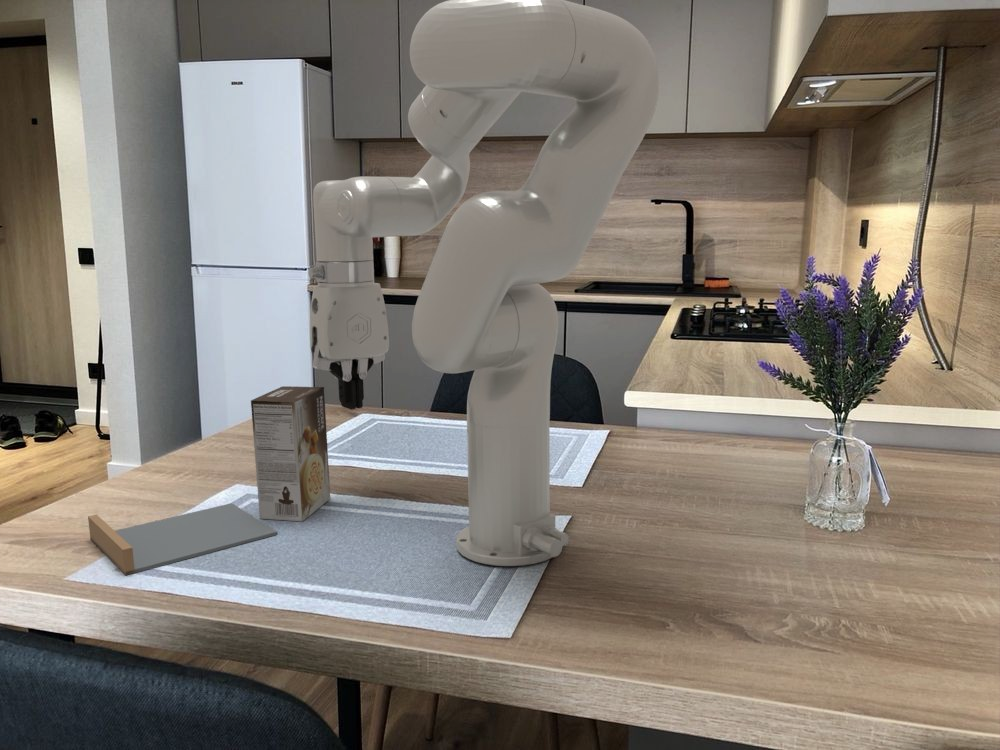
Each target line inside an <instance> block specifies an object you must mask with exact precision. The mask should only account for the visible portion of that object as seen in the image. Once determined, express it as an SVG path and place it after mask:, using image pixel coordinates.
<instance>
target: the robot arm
mask: <svg viewBox="0 0 1000 750" xmlns="http://www.w3.org/2000/svg"><path fill="white" fill-rule="evenodd" d="M409 59H410V60H409V61H410V65H411V68H412V70H413V72H414V74H415V76H416V78H417V79H419V81H421V83H423V84H424V86H423V89H422V90H421V92H419V94H418V95H417V97H416V98H415V99H414V101H413V102H412V103H411V105H410V107H409V109H408V114H407V120H408V121H407V122H408V125H409V129H410V131H411V133H412V134H413V136H414V138H415V139H416V140H417V142H418V143H419V144H420V146H421V147H422V148H423V149H424V150H426V152H428V153H429V154H430V155H431V156H430V158H429V159H428V161H427V162H426V163H425V164H424V165H423V166H422V168H421V169H420V170H419V171H418V172H417V174H415V175H414V176H413V177H408V176H353V177H350V178H348V179H347V178H346V179H342V180H341V179H340V180H338V179H337V180H336V179H335V180H334V179H333V180H322V181H319V182H318V183H317V184H316V185H315V186H314V188H313V191H312V193H313V194H312V198H313V200H312V201H313V216H314V218H313V219H314V236H315V252H316V253H315V254H316V262H315V266H314V267H309V268H308V277H309V278H310V279H316V282H317V285H314V286H313V290H312V295H311V302H310V311H309V313H310V316H309V346H310V351H311V354H312V356H313V359H312V364H311V365H312V368H314V369H317V370H321V371H328V372H330V374H332V375H333V376H334V378H335V379H337V381H338V382H337V383H338V398H339V402H340V403H341V404H340V405H341V407H343V408H346V409H349V410H351V411H352V410H355V409H362V408H363V407H364V404H363V403H364V402H363V401H364V399H365V394H364V393H365V392H364V380H365V379H366V378H367V376H368V372H369V371H370V370H371V368H372V367H373V366H374V365H376V364H378V363H381V362H383V361H385V360H386V353H388V351H389V349H390V336H389V335H390V334H389V333H390V332H389V325H388V323H389V322H388V316H387V309H386V303H385V300H384V295H383V290H382V288H381V284H380V283H377V282H375V269H374V267H375V266H374V243H373V238H385V237H386V238H387V237H404V236H405V237H408V236H409V237H411V236H420V235H424V234H426V233H428V232H431V230H433V229H435V228H436V227H437V226H438V225H439V224H441V222H442V221H444V219H445V218H447V216H448V215H449V214H450V212H451V211H452V210H453V209H454V208H455V207H456V206H457V204H458V203H460V201H461V199H462V198H463V196H464V194H465V191H466V189H467V185H468V181H469V177H470V171H471V159H470V153H472V152H471V151H473V150H474V148H476V146H477V145H478V144H479V143H480V141H481V140H482V139H483V137H484V136H485V135H486V134H487V132H488V131H489V130H490V129H491V128H492V127H493V125H494V124H496V123H497V121H498V120H499V119H500V117H502V115H503V114H504V113H505V112H506V110H507V109H508V108H509V107H510V106H511V104H513V102H514V101H515V99H516V98H517V97H518V96H519V95H520V94H521V93H529V94H536V95H537V94H538V95H544V96H551V97H556V98H557V97H558V98H566V99H572V100H574V102H575V104H574V105H575V106H574V107H573V108H572V110H571V112H569V114H568V115H566V117H565V118H563V120H562V121H560V122H559V124H557V126H556V127H555V129H554V130H553V131H552V132H551V134H549V136H548V137H547V138H546V140H545V142H544V144H543V145H542V147H541V149H540V152H539V154H538V157H537V159H536V162H535V164H534V166H533V168H532V170H531V172H530V174H529V176H528V178H527V180H526V181H525V182H524V183H523V185H522V186H521V187H520V188H519V189H516V190H490V191H483V192H480V193H478V194H475V195H473V196H471V197H470V198H468V199H467V200H465V201H464V202H463V203H462V204H461V205H460V206H459V207H458V208H457V209H456V211H455V212H454V213H452V216H451V217H450V219H449V221H448V222H447V224H446V227H445V229H444V231H443V233H442V236H441V237H440V240H439V243H438V245H437V248H436V250H435V253H434V256H433V258H432V262H431V264H430V265H429V269H428V271H427V273H426V276H425V279H424V281H423V284H422V285H421V286H422V287H421V289H420V292H419V294H418V297H417V298H416V299H417V300H416V303H415V307H414V309H413V314H412V319H411V321H412V322H411V337H412V343H413V346H414V349H415V352H416V354H417V356H418V357H419V359H420V360H421V361H422V362H423V363H424V364H425V365H426V366H427V367H428V368H430V369H432V370H434V371H437V372H439V373H444V374H460V373H466V372H471V371H473V374H472V377H471V379H470V384H469V387H468V388H469V389H468V392H467V397H466V398H467V400H466V437H467V438H466V439H467V442H466V443H467V445H466V447H467V489H468V492H467V493H468V526H466V527H464V528H463V529H461V530H460V531H459V532H458V534H457V535H456V539H455V540H456V541H455V543H456V550H457V551H458V552H459V553H460V555H462V556H463V557H465V558H466V559H468V560H471V561H473V562H474V563H475V562H476V563H479V564H483V565H489V566H499V567H520V566H528V565H534V564H539V563H542V562H545V561H547V560H551V559H552V558H557V557H558V556H560V555H561V552H562V550H563V547H565V546H567V545H568V543H569V541H570V535H569V534H568V533H565V532H564V531H560V530H559V529H558V528H556V514H554V513H552V512H551V511H550V510H551V509H550V507H551V506H550V503H551V501H550V498H551V496H550V494H551V493H550V489H551V488H550V480H551V479H550V475H551V474H550V472H551V471H550V464H551V463H550V460H551V459H550V456H551V455H550V450H551V449H550V419H551V416H550V415H551V381H552V380H551V379H552V368H553V361H554V358H555V357H554V355H555V351H556V346H557V342H558V341H557V340H558V334H559V314H558V309H557V305H556V303H555V300H554V298H553V297H552V295H551V294H550V292H549V291H548V290H547V289H546V288H545V287H543V285H541V284H544V283H551V282H556V281H559V280H561V279H564V278H565V277H567V276H569V275H570V274H571V273H573V271H575V269H576V268H577V267H578V265H579V263H580V261H581V260H582V257H583V256H584V254H585V253H586V250H587V248H588V246H589V244H590V241H591V240H592V237H594V236H593V235H594V234H595V232H596V230H597V229H598V228H597V227H598V225H599V223H600V222H601V220H602V217H603V216H604V213H605V212H606V210H607V208H608V206H609V204H610V202H611V199H612V197H613V195H614V193H615V191H616V188H617V186H618V185H619V183H620V180H621V178H622V176H623V174H624V172H625V171H626V169H627V168H628V165H629V164H630V162H631V161H632V158H633V156H634V155H635V153H636V151H637V150H638V148H639V146H640V145H641V143H642V141H643V139H644V137H645V135H646V134H647V131H648V129H649V127H650V125H651V124H652V120H653V118H654V115H655V111H656V109H657V105H658V100H659V95H660V94H659V93H660V74H659V69H658V63H657V62H658V61H657V60H656V56H655V53H654V50H653V49H652V47H651V45H650V43H649V41H648V39H647V38H646V36H644V34H643V33H642V32H641V30H639V29H638V28H637V27H635V26H634V25H633V24H632V23H631V22H629V21H627V20H626V19H625V18H622V17H621V16H618V15H616V14H614V13H611V12H609V11H607V10H602V9H600V8H595V7H594V6H588V5H584V4H580V3H576V2H572V1H568V0H445V1H443V2H440V3H437V4H436V5H433V7H430V8H429V10H427V11H426V12H425V13H424V15H422V17H421V18H420V19H419V21H418V22H417V23H416V25H415V27H414V30H413V33H412V35H411V39H410V44H409Z"/></svg>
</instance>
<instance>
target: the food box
mask: <svg viewBox="0 0 1000 750" xmlns="http://www.w3.org/2000/svg"><path fill="white" fill-rule="evenodd" d="M325 399H326V398H325V387H324V386H291V385H290V386H284V385H283V386H280V387H278V388H275V389H274V390H271V391H268V392H267V393H265V394H262V395H260V396H258V397H255V398H254V399H251V400H250V405H251V406H250V407H251V420H252V434H253V445H254V446H253V447H254V461H255V473H256V484H257V485H256V486H257V498H258V510H259V519H261V520H273V521H274V520H276V521H289V522H304V521H305V520H307V519H308V518H309V517H310V516H311V515H313V513H315V512H316V511H318V510H319V509H320V507H322V506H323V505H325V504H326V503H327V502H328V501H329V500H330V499H331V485H330V469H329V457H328V456H329V455H328V454H329V452H328V451H329V450H328V436H327V435H328V434H327V432H328V431H327V420H326V401H325Z"/></svg>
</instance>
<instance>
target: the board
mask: <svg viewBox="0 0 1000 750" xmlns="http://www.w3.org/2000/svg"><path fill="white" fill-rule="evenodd" d="M87 519H88V521H87V522H88V531H89V537H90V538H89V539H90V540H91V542H92V543H93V544H94V545H95V546H96V547H97V548H98V549H99V550H100V551H101V552H102V553H103V554H104V555H105V556H106V557H107V558H108V559H109V560H110V561H111V563H112V564H113V565H114V566H116V567H117V568H118V569H119V571H120V572H122V573H123V575H124V576H129V575H133V574H136V573H139V572H143V571H147V570H151V569H155V568H158V567H162V566H166V565H170V564H174V563H177V562H181V561H184V560H185V561H186V560H188V559H192V558H195V557H199V556H203V555H207V554H210V553H211V554H212V553H216V552H217V551H218V552H219V551H221V550H225V549H229V548H233V547H237V546H240V545H243V544H247V543H252V542H255V541H259V540H264V539H265V538H270V537H274V536H278V531H277V530H276V529H274V528H272V527H271V526H269V525H268V524H266V523H264V522H263V521H262V520H259V519H258V518H256V517H254V515H252V514H250V513H249V512H247V511H245V510H244V509H242V508H240V507H239V506H237V505H236V504H234V503H233V502H230V503H226V504H223V505H218V506H213V507H209V508H205V509H201V510H196V511H193V512H189V513H184V514H179V515H175V516H171V517H167V518H163V519H159V520H155V521H150V522H146V523H142V524H137V525H132V526H129V527H125V528H120V529H116V530H114V529H113V528H112V527H111V526H110V525H109V524H108V523H107V522H106V521H105V520H103V518H101V517H100V516H99V515H98V514H92V515H88V516H87Z"/></svg>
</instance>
